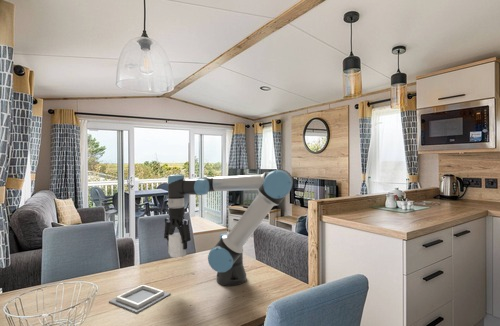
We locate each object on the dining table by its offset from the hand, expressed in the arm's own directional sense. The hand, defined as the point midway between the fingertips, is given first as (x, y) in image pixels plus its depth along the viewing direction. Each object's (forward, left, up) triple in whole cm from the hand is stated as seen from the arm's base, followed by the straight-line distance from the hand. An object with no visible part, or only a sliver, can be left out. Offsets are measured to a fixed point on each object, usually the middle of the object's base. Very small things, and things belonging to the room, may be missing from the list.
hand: (177, 254), depth 134 cm
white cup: (0, 0, -1) cm, 1 cm away
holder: (+6, +16, -16) cm, 23 cm away
